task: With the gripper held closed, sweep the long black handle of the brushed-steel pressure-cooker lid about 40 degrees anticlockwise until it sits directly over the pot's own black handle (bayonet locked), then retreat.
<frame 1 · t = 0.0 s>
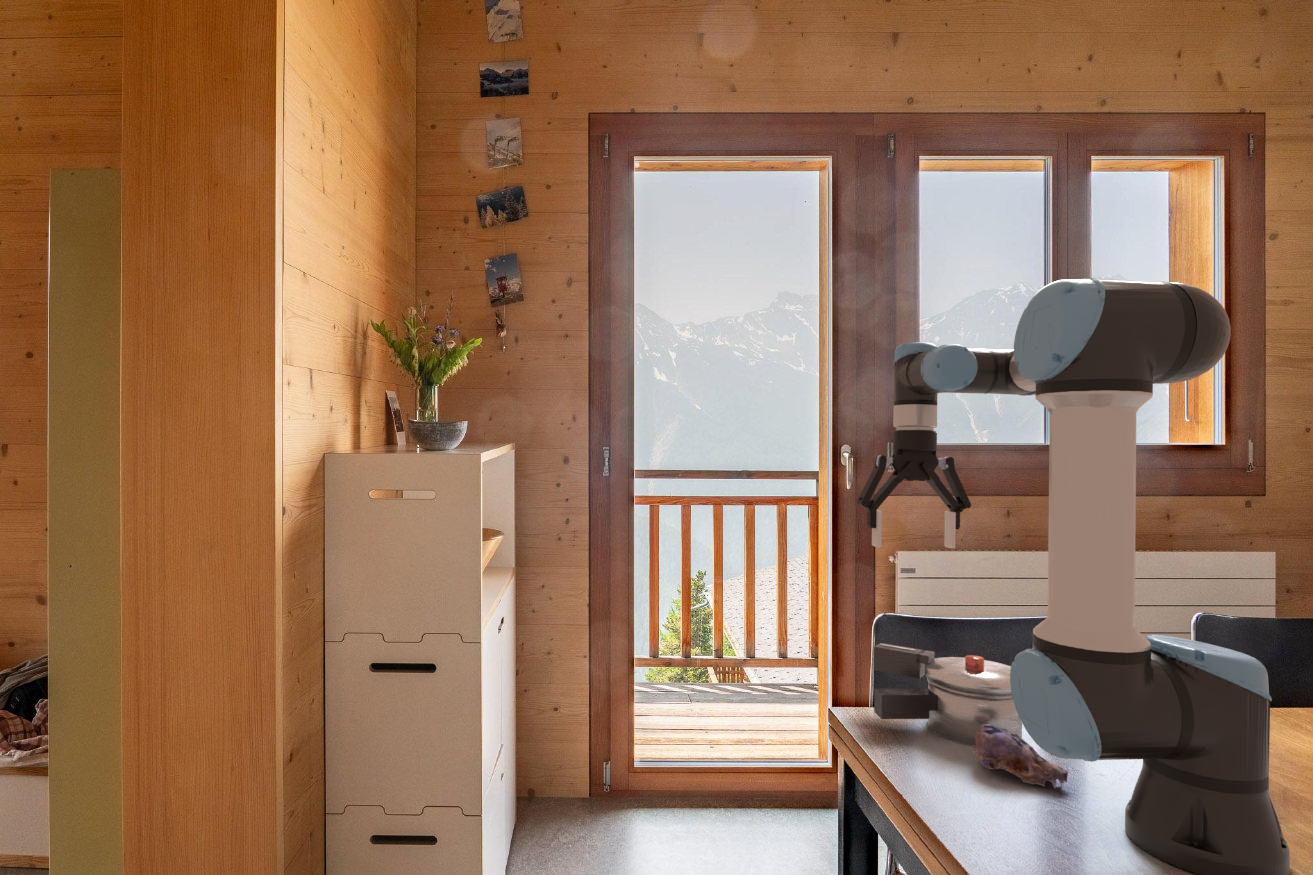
hand: (913, 547, 133), 28 cm above the table, fingers open, 13 cm apart
skull: (1018, 779, 103), on the table
lid: (947, 666, 123), point 9 cm above the table, hinge at 40.0°
pot: (973, 730, 120), on the table
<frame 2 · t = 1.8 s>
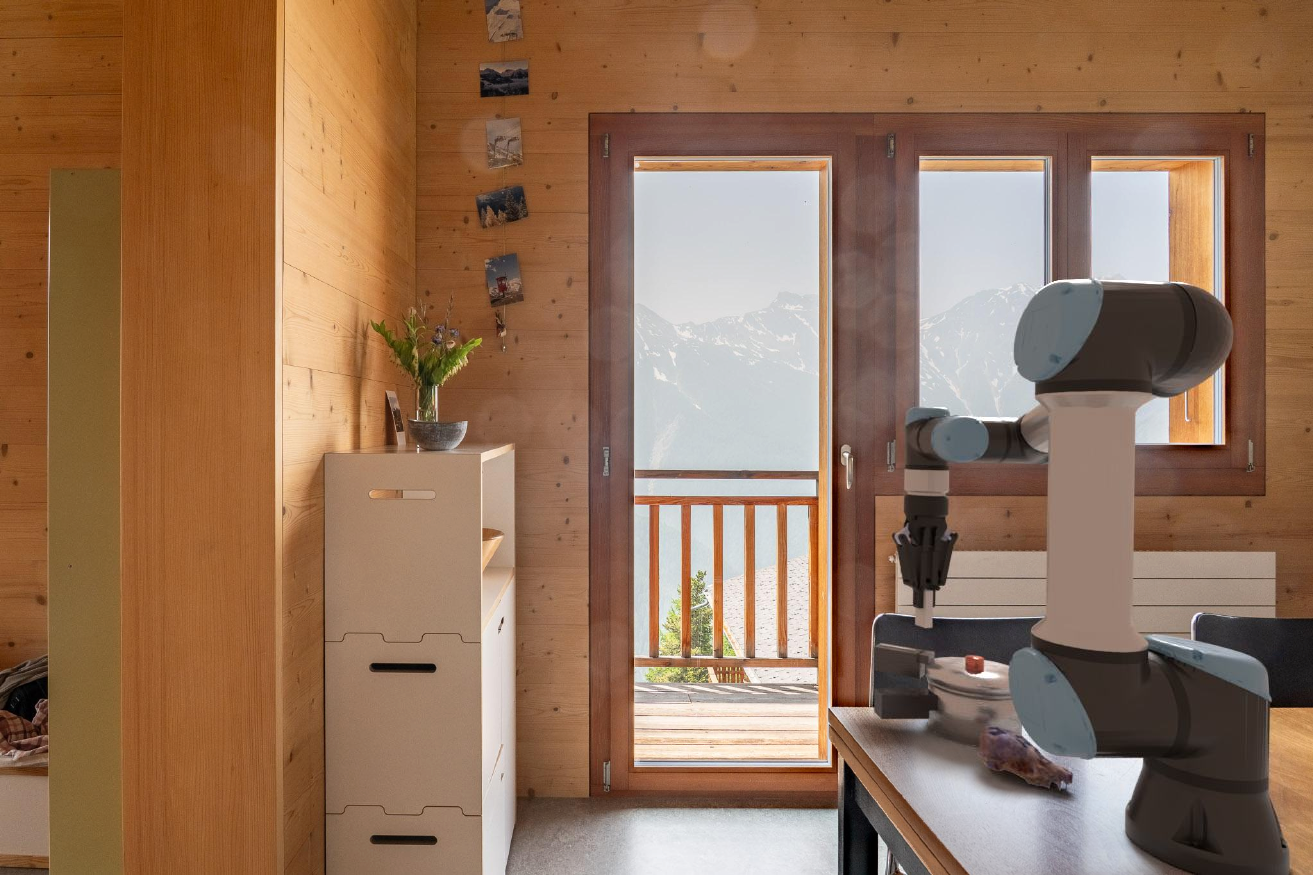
hand: (923, 625, 132), 14 cm above the table, fingers closed
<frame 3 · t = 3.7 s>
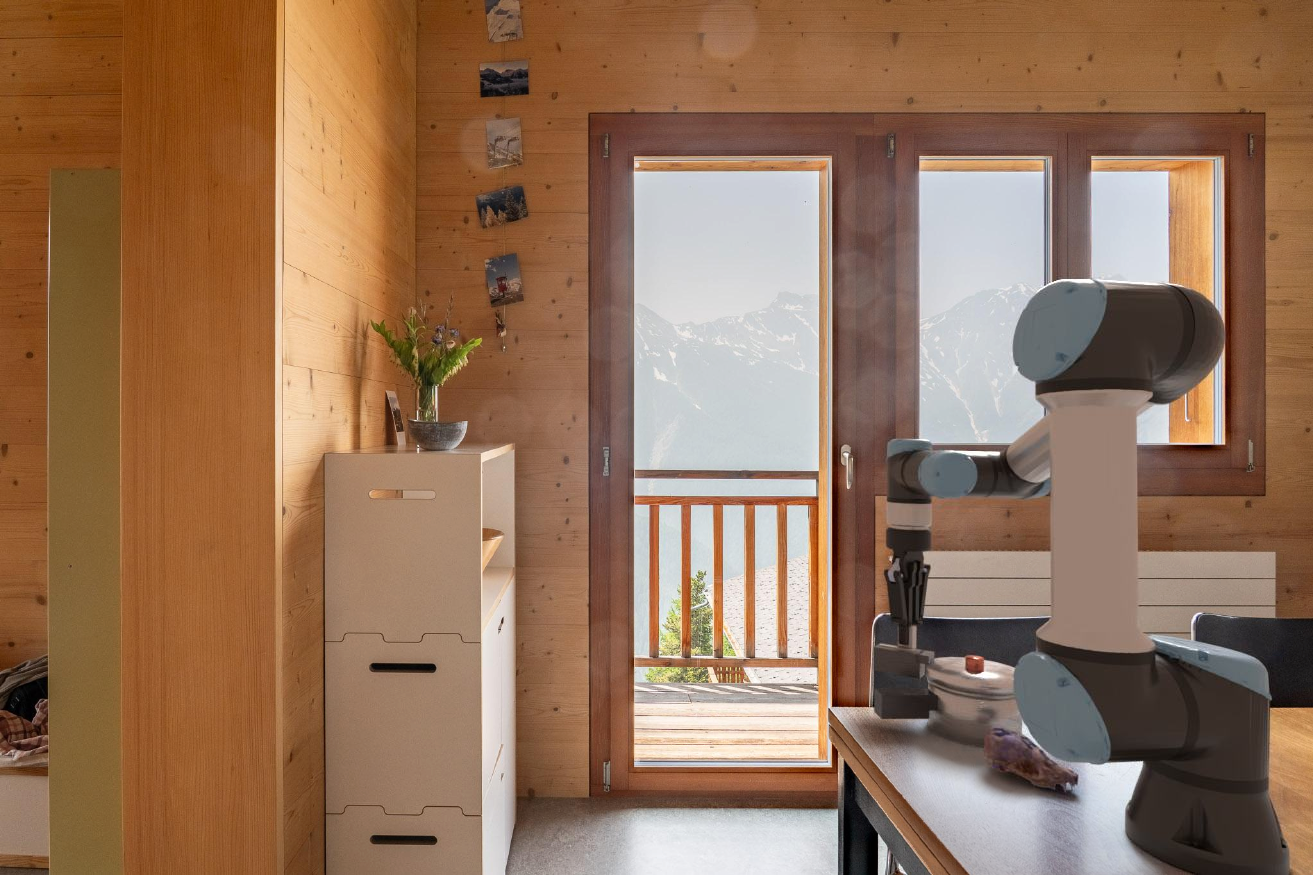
hand: (906, 662, 129), 8 cm above the table, fingers closed
lid: (947, 667, 123), point 9 cm above the table, hinge at 39.3°, touching gripper
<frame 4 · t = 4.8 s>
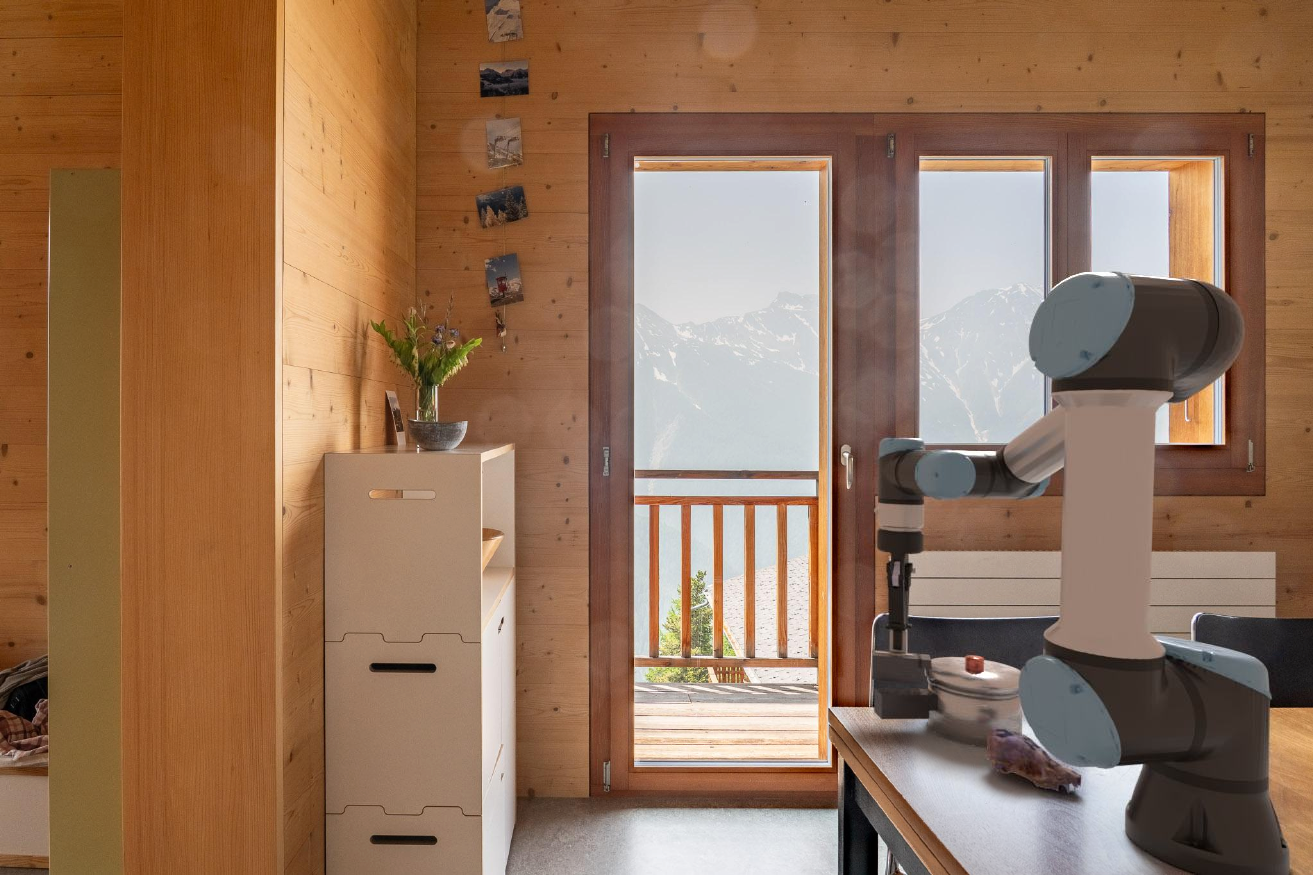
hand: (898, 667, 126), 8 cm above the table, fingers closed
lid: (946, 669, 121), point 9 cm above the table, hinge at 18.7°, touching gripper
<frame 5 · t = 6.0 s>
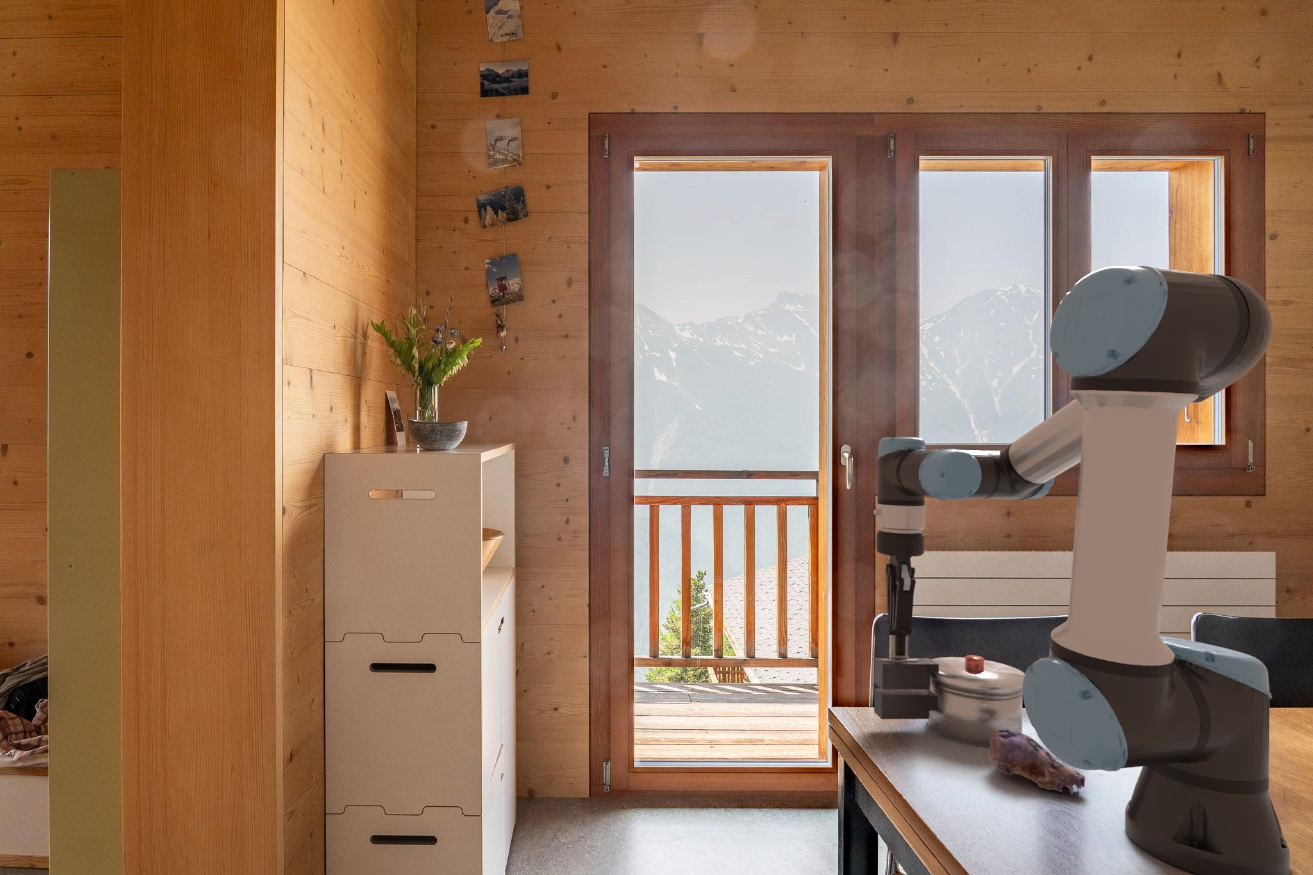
hand: (898, 673, 122), 8 cm above the table, fingers closed
lid: (949, 671, 120), point 9 cm above the table, hinge at 0.1°, touching gripper
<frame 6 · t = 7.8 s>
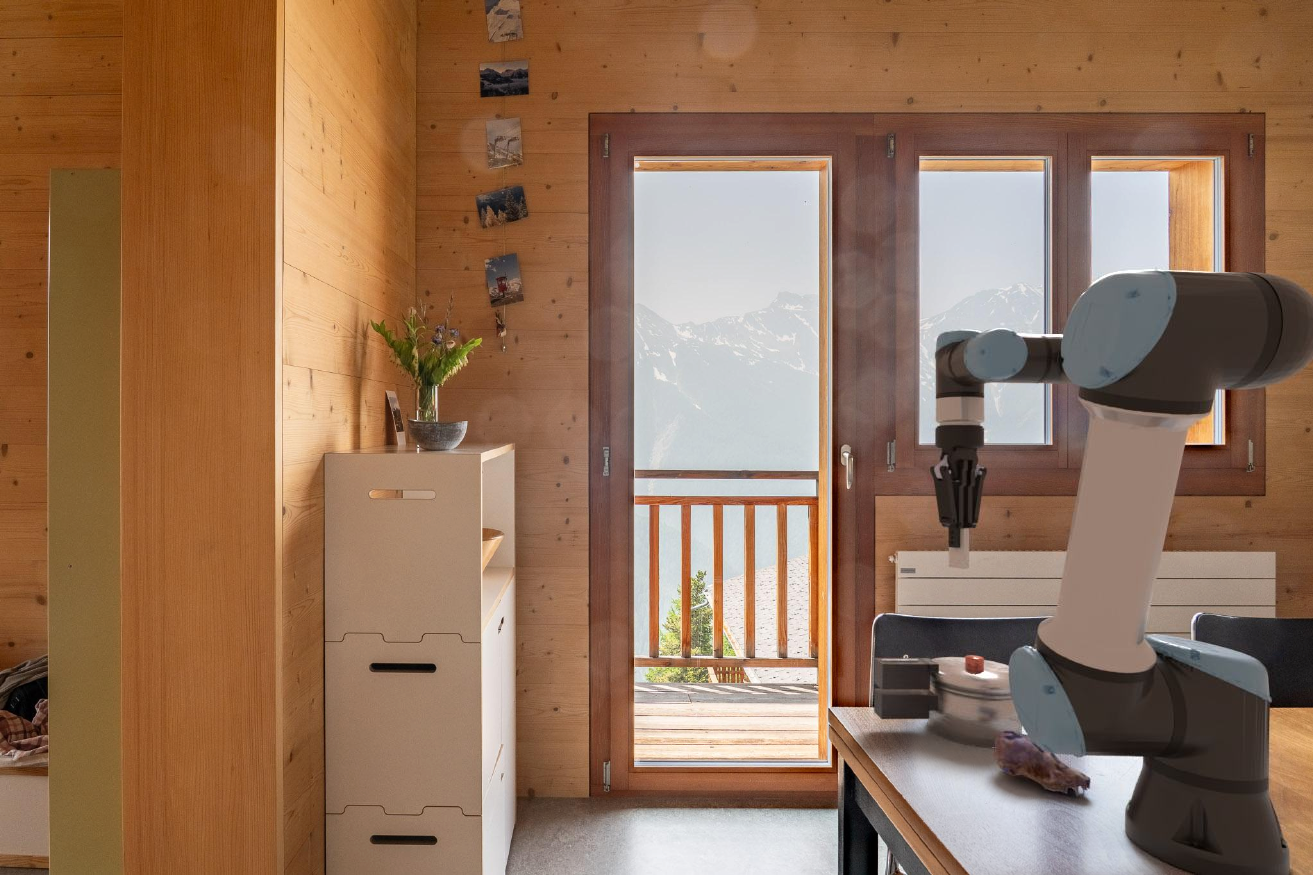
hand: (958, 567, 122), 26 cm above the table, fingers closed
lid: (949, 671, 120), point 9 cm above the table, hinge at 0.1°
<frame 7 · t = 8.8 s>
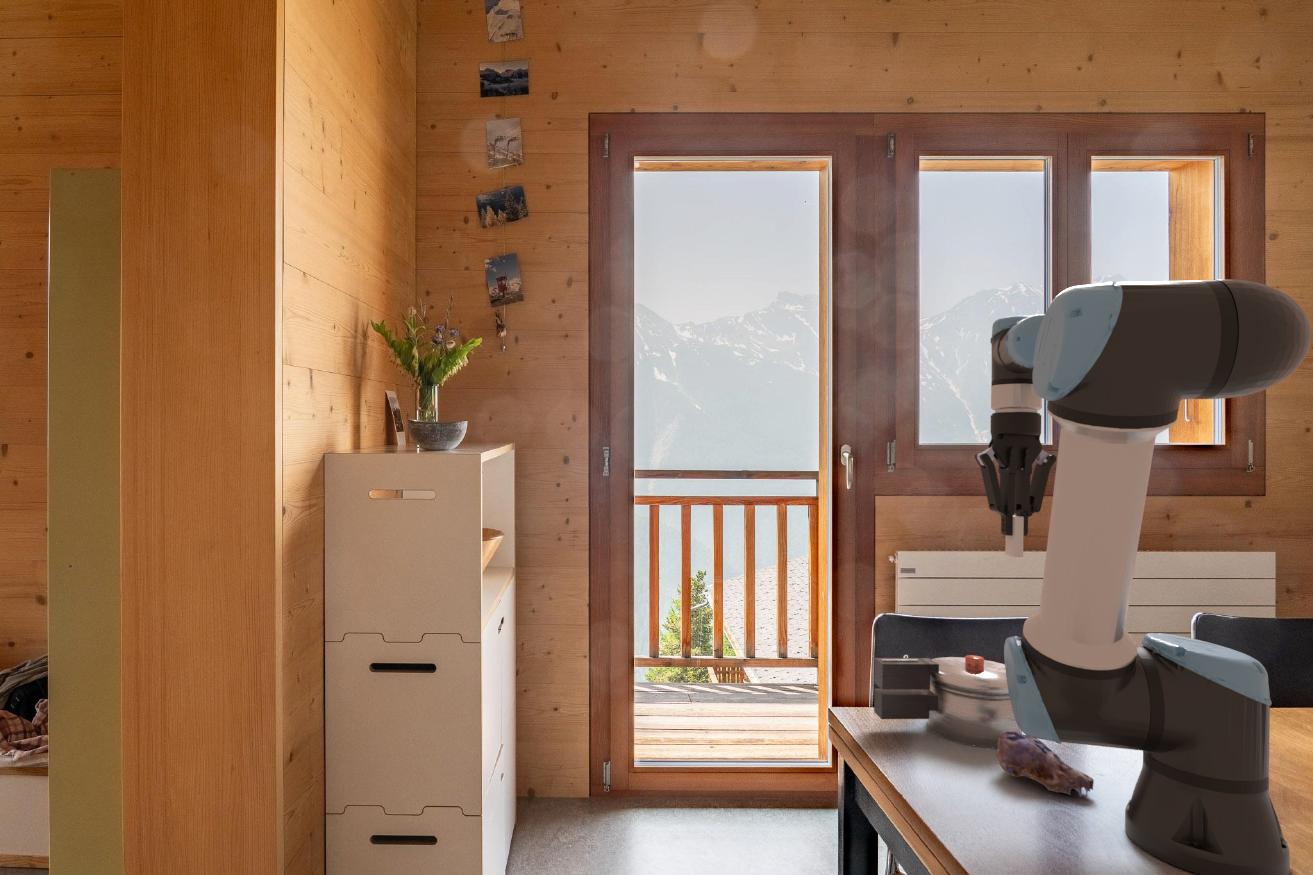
hand: (1014, 555, 121), 28 cm above the table, fingers closed
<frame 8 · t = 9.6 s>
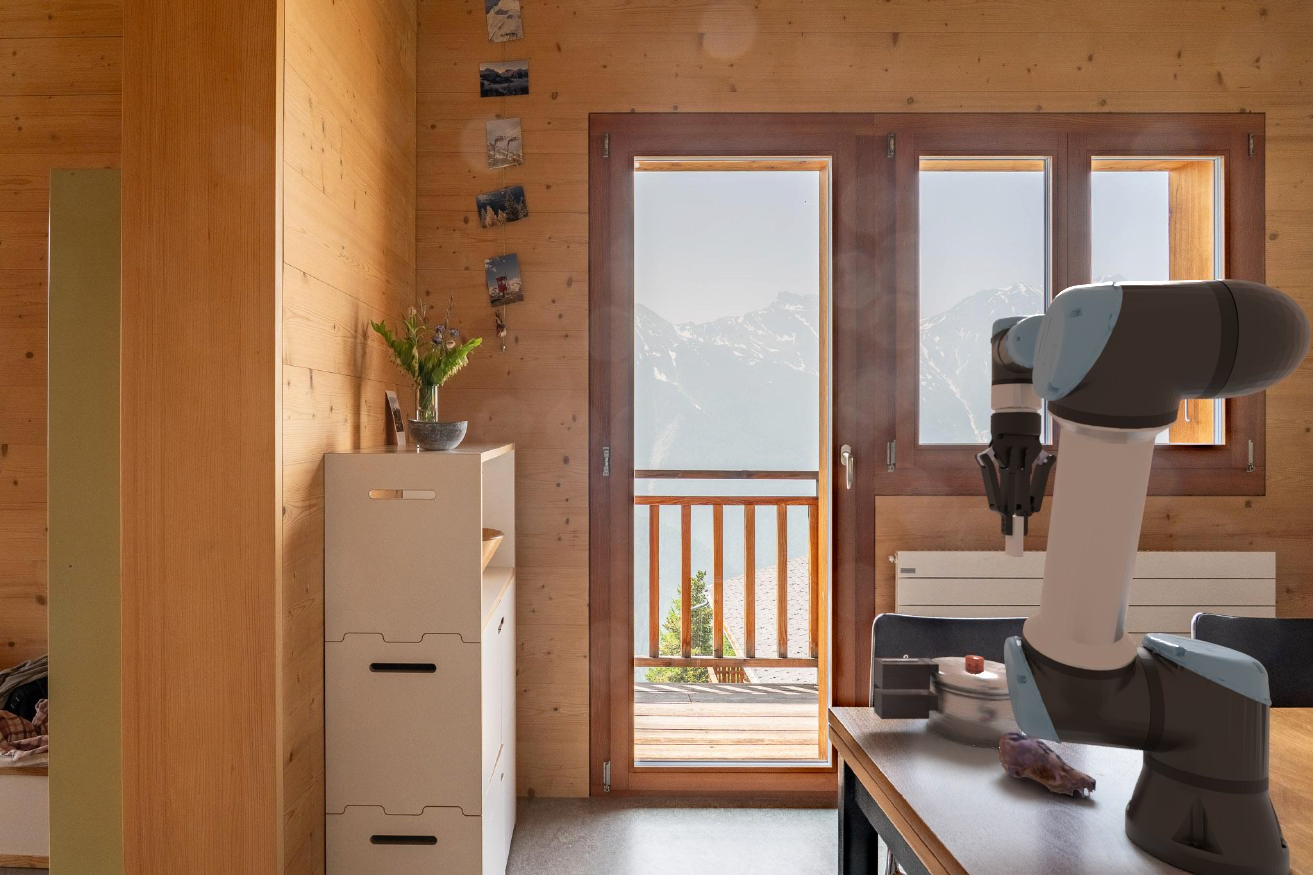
hand: (1014, 555, 121), 28 cm above the table, fingers closed
at the end: lid at +0° (first picture: +40°); skull moved 3.5 cm from its start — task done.
